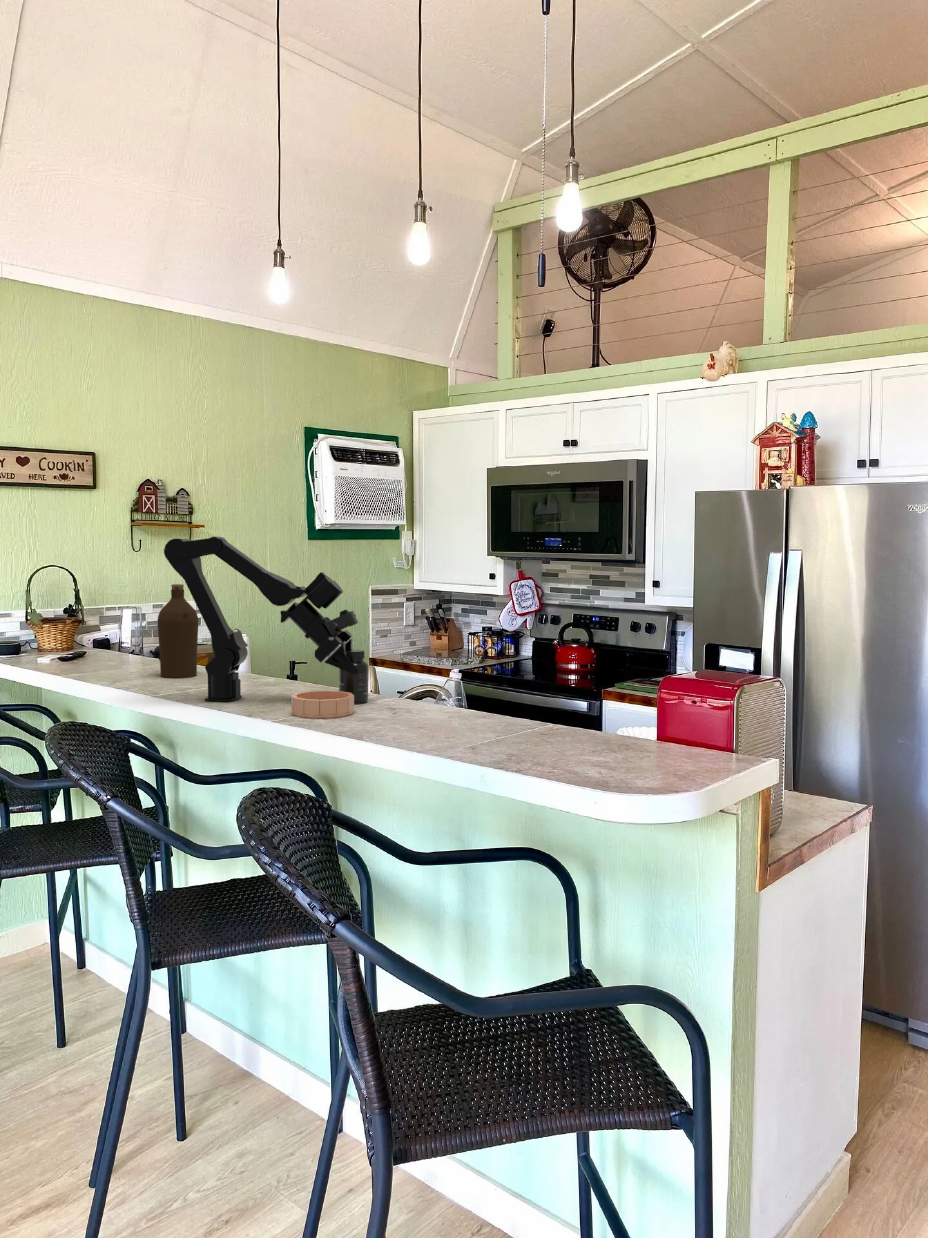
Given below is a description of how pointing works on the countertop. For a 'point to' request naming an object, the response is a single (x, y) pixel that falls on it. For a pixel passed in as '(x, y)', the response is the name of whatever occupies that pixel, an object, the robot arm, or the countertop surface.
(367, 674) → the supplement bottle
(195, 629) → the olive oil
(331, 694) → the terracotta bowl
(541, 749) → the countertop surface
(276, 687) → the countertop surface
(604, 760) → the countertop surface
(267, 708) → the countertop surface
